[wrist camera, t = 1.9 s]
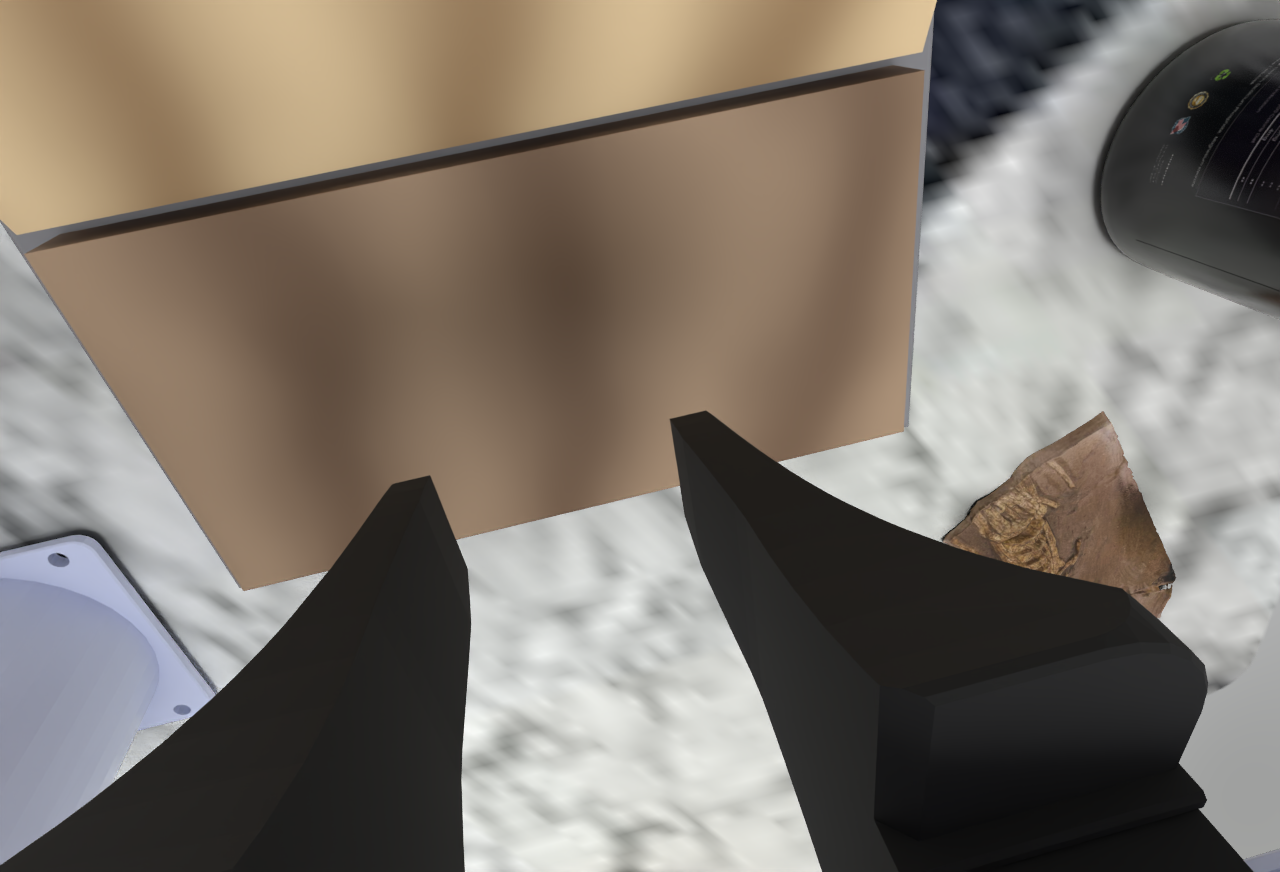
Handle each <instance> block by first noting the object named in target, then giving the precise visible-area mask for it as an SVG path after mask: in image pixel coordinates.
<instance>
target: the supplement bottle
mask: <svg viewBox="0 0 1280 872" xmlns="http://www.w3.org/2000/svg"><path fill="white" fill-rule="evenodd" d="M1100 198H1101V210H1102V216H1103V220H1104V224H1105V226H1106V229H1107V231H1108V234H1109V236H1110V237H1111V239H1112V241H1113V242H1114V244H1115V245H1116V246H1117V247H1118V249H1119V250H1120V251H1121V252H1123V253H1124V254H1125V255H1126V256H1127V257H1129V258H1130V259H1131V260H1133V261H1135V262H1137V263H1139V264H1141V265H1143V266H1145V267H1147V268H1150V269H1152V270H1154V271H1157V272H1159V273H1162V274H1164V275H1166V276H1169V277H1171V278H1174V279H1176V280H1179V281H1181V282H1184V283H1187V284H1189V285H1192V286H1194V287H1197V288H1199V289H1202V290H1204V291H1207V292H1210V293H1212V294H1215V295H1217V296H1220V297H1222V298H1225V299H1227V300H1230V301H1233V302H1235V303H1238V304H1240V305H1243V306H1245V307H1248V308H1250V309H1253V310H1256V311H1258V312H1261V313H1263V314H1266V315H1268V316H1271V317H1273V318H1276V319H1279V320H1280V19H1266V20H1257V21H1249V22H1245V23H1241V24H1237V25H1234V26H1231V27H1229V28H1226V29H1223V30H1221V31H1218V32H1216V33H1214V34H1212V35H1210V36H1208V37H1206V38H1205V39H1203V40H1201V41H1199V42H1198V43H1196V44H1194V45H1193V46H1191V47H1190V48H1188V49H1187V50H1185V51H1184V52H1183V53H1181V54H1180V55H1179V56H1178V57H1176V58H1175V59H1174V60H1173V61H1171V62H1170V63H1169V64H1168V65H1167V66H1166V67H1165V68H1164V69H1163V70H1161V71H1160V72H1159V73H1158V74H1157V75H1156V77H1155V78H1154V79H1153V80H1152V81H1151V82H1150V83H1149V84H1148V85H1147V86H1146V88H1145V89H1144V90H1143V91H1142V92H1141V94H1140V95H1139V96H1138V98H1137V99H1136V100H1135V102H1134V103H1133V105H1132V106H1131V108H1130V109H1129V111H1128V112H1127V114H1126V115H1125V117H1124V119H1123V121H1122V122H1121V124H1120V126H1119V128H1118V130H1117V132H1116V134H1115V136H1114V138H1113V141H1112V143H1111V146H1110V148H1109V151H1108V154H1107V158H1106V161H1105V165H1104V169H1103V174H1102V180H1101V192H1100Z"/></svg>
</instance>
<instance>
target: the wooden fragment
mask: <svg viewBox="0 0 1280 872" xmlns="http://www.w3.org/2000/svg"><path fill="white" fill-rule="evenodd" d="M1117 438H1118V436H1117V434H1116V433H1115V431H1114V427H1113V425H1112V423H1111V422H1110V421H1109V419H1108V418H1107V416H1106V415H1105V413H1104V411H1103V412H1101V413H1100V414H1098V415H1097V416H1096V417H1094V418H1093V419H1092V420H1090V421H1089V422H1087V423H1085V424H1084V425H1082V426H1080V427H1079V428H1077V429H1076V430H1074V431H1072V432H1071V433H1069V434H1067V435H1066V436H1064V437H1063V438H1061V439H1060V440H1058V441H1056V442H1054V443H1053V444H1051V445H1049V446H1047V447H1045V448H1043V449H1041V450H1039V451H1037V452H1035V453H1034V454H1032V455H1030V456H1029V457H1027V458H1026V459H1025V460H1024V461H1023V462H1022V463H1021V464H1020V465H1019V467H1018V468H1017V469H1016V470H1015V471H1014V472H1013V474H1012V477H1011V478H1010V479H1008V480H1007V481H1006V482H1005V483H1003V484H1002V485H1001V486H1000V487H998V488H997V489H996V490H995V491H994V492H992V493H991V494H989V495H988V496H986V497H985V498H983V499H981V500H979V501H977V503H976V505H975V506H974V507H973V508H972V509H971V511H970V516H969V515H967V517H966V519H965V520H964V521H962V522H961V523H960V524H959V525H958V526H957V527H956V528H955V529H953V530H951V531H950V533H949V534H947V535H945V538H944V540H943V543H946V544H948V545H950V546H953V547H956V548H960V549H963V550H966V551H969V552H972V553H975V554H979V555H982V556H986V557H989V558H993V559H996V560H1000V561H1004V562H1007V563H1011V564H1014V565H1018V566H1022V567H1025V568H1029V569H1033V570H1038V571H1042V572H1047V573H1052V574H1056V575H1061V576H1066V577H1071V578H1075V579H1080V580H1085V581H1089V582H1094V583H1099V584H1104V585H1108V586H1113V587H1118V588H1122V589H1123V590H1124V591H1126V592H1127V593H1128V594H1129V595H1131V596H1132V597H1133V598H1134V599H1136V600H1137V601H1138V602H1139V603H1140V604H1141V605H1143V606H1144V607H1145V608H1146V609H1147V610H1148V611H1150V612H1151V613H1152V614H1153V615H1154V616H1155V617H1156V618H1160V617H1161V613H1162V611H1163V609H1164V607H1165V605H1166V603H1167V601H1168V600H1169V599H1170V597H1171V593H1172V585H1171V588H1170V589H1168V588H1167V589H1163V590H1161V591H1160V589H1159V588H1158V587H1159V586H1160V585H1165V584H1166V586H1167V587H1168V583H1169V584H1171V583H1173V582H1174V581H1175V579H1176V577H1175V573H1174V570H1173V569H1172V564H1171V562H1170V559H1169V557H1168V556H1167V554H1166V551H1165V549H1164V546H1163V543H1162V541H1161V539H1160V537H1159V535H1158V533H1157V532H1156V528H1155V526H1154V524H1153V521H1152V519H1151V517H1150V514H1149V512H1148V510H1147V507H1146V505H1145V503H1144V500H1143V497H1142V493H1141V492H1139V489H1138V486H1137V483H1136V482H1135V480H1134V479H1133V477H1134V476H1132V475H1131V474H1132V473H1133V472H1132V471H1131V470H1130V468H1127V466H1128V461H1127V460H1126V459H1125V457H1124V456H1123V454H1124V452H1123V450H1122V447H1121V445H1120V443H1119V441H1118V439H1117Z"/></svg>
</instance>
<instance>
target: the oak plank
mask: <svg viewBox="0 0 1280 872" xmlns="http://www.w3.org/2000/svg"><path fill="white" fill-rule="evenodd" d="M936 2H937V0H0V220H1V221H2V222H3V223H4V224H5V225H6V226H7V227H9V228H10V229H11V230H12V231H13V232H14V233H15V234H16V235H20V234H25V233H30V232H35V231H40V230H44V229H49V228H54V227H59V226H64V225H69V224H74V223H79V222H84V221H89V220H94V219H99V218H104V217H109V216H114V215H119V214H124V213H129V212H134V211H138V210H143V209H148V208H153V207H158V206H163V205H168V204H173V203H178V202H183V201H188V200H193V199H198V198H203V197H208V196H213V195H218V194H223V193H228V192H232V191H237V190H242V189H247V188H252V187H257V186H262V185H267V184H272V183H277V182H282V181H287V180H292V179H297V178H302V177H307V176H312V175H317V174H322V173H326V172H331V171H336V170H341V169H346V168H351V167H356V166H361V165H366V164H371V163H376V162H381V161H386V160H391V159H396V158H401V157H406V156H411V155H415V154H420V153H425V152H430V151H435V150H440V149H445V148H450V147H455V146H460V145H465V144H470V143H475V142H480V141H485V140H490V139H495V138H500V137H505V136H509V135H514V134H519V133H524V132H529V131H534V130H539V129H544V128H549V127H554V126H559V125H564V124H569V123H574V122H579V121H584V120H589V119H594V118H599V117H603V116H608V115H613V114H618V113H623V112H628V111H633V110H638V109H643V108H648V107H653V106H658V105H663V104H668V103H673V102H678V101H683V100H688V99H693V98H697V97H702V96H707V95H712V94H717V93H722V92H727V91H732V90H737V89H742V88H747V87H752V86H757V85H762V84H767V83H772V82H777V81H782V80H786V79H791V78H796V77H801V76H806V75H811V74H816V73H821V72H826V71H831V70H836V69H841V68H846V67H851V66H856V65H861V64H866V63H871V62H876V61H880V60H885V59H890V58H895V57H900V56H905V55H910V54H915V53H920V52H923V48H924V45H925V41H926V37H927V34H928V30H929V27H930V23H931V20H932V16H933V12H934V9H935V5H936Z"/></svg>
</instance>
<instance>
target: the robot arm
mask: <svg viewBox="0 0 1280 872" xmlns="http://www.w3.org/2000/svg"><path fill="white" fill-rule="evenodd" d="M670 425H671V431H672V437H673V444H674V450H675V456H676V463H677V469H678V475H679V482H680V488H681V494H682V501H683V507H684V513H685V518H686V521H687V524H688V527H689V530H690V533H691V536H692V539H693V542H694V545H695V548H696V551H697V554H698V557H699V560H700V563H701V566H702V568H703V571H704V573H705V575H706V577H707V579H708V581H709V584H710V586H711V588H712V590H713V592H714V594H715V596H716V599H717V601H718V603H719V605H720V607H721V609H722V611H723V613H724V615H725V618H726V620H727V622H728V624H729V626H730V628H731V630H732V632H733V634H734V637H735V639H736V641H737V643H738V645H739V647H740V649H741V651H742V654H743V656H744V658H745V660H746V662H747V664H748V666H749V668H750V670H751V673H752V675H753V677H754V679H755V682H756V684H757V687H758V689H759V691H760V694H761V696H762V699H763V701H764V704H765V707H766V709H767V712H768V715H769V718H770V721H771V724H772V726H773V729H774V732H775V735H776V738H777V740H778V743H779V746H780V749H781V752H782V755H783V757H784V760H785V763H786V766H787V769H788V772H789V775H790V778H791V781H792V784H793V786H794V789H795V792H796V795H797V798H798V801H799V804H800V807H801V810H802V813H803V816H804V818H805V821H806V824H807V827H808V830H809V833H810V836H811V839H812V842H813V845H814V848H815V851H816V854H817V857H818V860H819V863H820V866H821V869H822V872H1280V849H1277V850H1273V851H1270V852H1266V853H1263V854H1260V855H1256V856H1253V857H1250V858H1246V859H1242V858H1241V857H1240V856H1239V854H1238V853H1237V852H1236V851H1235V850H1234V849H1233V848H1232V847H1231V845H1230V844H1229V843H1228V842H1227V841H1226V840H1225V839H1224V837H1223V836H1222V835H1221V834H1220V833H1219V832H1218V831H1217V829H1216V828H1215V827H1214V826H1213V825H1212V824H1211V823H1210V821H1209V820H1208V819H1207V818H1206V817H1205V816H1204V815H1203V814H1202V813H1201V811H1200V810H1199V808H1202V807H1204V805H1205V803H1206V801H1207V799H1206V796H1205V794H1204V791H1203V790H1202V789H1201V788H1200V787H1199V785H1198V784H1197V783H1196V782H1195V781H1194V780H1193V779H1192V778H1191V777H1190V775H1189V774H1188V773H1187V772H1186V771H1185V770H1184V769H1183V768H1182V767H1181V766H1180V764H1179V761H1180V758H1181V756H1182V754H1183V752H1184V750H1185V747H1186V745H1187V743H1188V741H1189V739H1190V736H1191V734H1192V732H1193V730H1194V727H1195V725H1196V723H1197V721H1198V719H1199V716H1200V714H1201V712H1202V709H1203V705H1204V701H1205V698H1206V694H1207V687H1208V681H1207V676H1206V670H1205V665H1204V664H1203V663H1202V662H1201V660H1200V659H1199V658H1198V657H1197V656H1196V655H1195V654H1194V653H1193V652H1192V651H1191V650H1190V649H1189V648H1188V647H1187V646H1186V645H1185V644H1184V643H1183V642H1182V641H1181V640H1180V639H1179V638H1178V637H1176V636H1175V635H1174V634H1173V633H1172V632H1171V631H1170V630H1169V629H1168V628H1167V627H1166V626H1165V625H1164V624H1163V623H1162V622H1161V621H1160V620H1159V619H1157V618H1156V617H1155V616H1154V615H1153V614H1152V613H1151V612H1150V611H1148V610H1147V609H1146V608H1145V607H1144V606H1143V605H1141V604H1140V603H1139V602H1138V601H1137V600H1136V599H1134V598H1133V597H1132V596H1131V595H1129V594H1128V593H1127V592H1126V591H1124V590H1123V589H1122V588H1118V587H1113V586H1108V585H1104V584H1099V583H1094V582H1089V581H1085V580H1080V579H1075V578H1071V577H1066V576H1061V575H1056V574H1052V573H1047V572H1042V571H1038V570H1033V569H1029V568H1025V567H1022V566H1018V565H1014V564H1011V563H1007V562H1004V561H1000V560H996V559H993V558H989V557H986V556H982V555H979V554H975V553H972V552H969V551H966V550H963V549H960V548H956V547H953V546H950V545H947V544H944V543H942V542H939V541H936V540H933V539H931V538H928V537H925V536H922V535H920V534H917V533H914V532H912V531H909V530H906V529H904V528H901V527H899V526H896V525H894V524H891V523H889V522H887V521H884V520H882V519H880V518H878V517H875V516H873V515H871V514H869V513H867V512H865V511H862V510H860V509H858V508H856V507H854V506H852V505H850V504H847V503H845V502H843V501H842V500H840V499H838V498H836V497H834V496H832V495H830V494H828V493H826V492H825V491H823V490H821V489H819V488H818V487H816V486H814V485H812V484H811V483H809V482H807V481H805V480H804V479H802V478H801V477H799V476H797V475H796V474H794V473H793V472H791V471H789V470H788V469H786V468H785V467H783V466H782V465H780V464H779V463H778V462H776V461H775V460H773V459H772V458H770V457H769V456H767V455H766V454H764V453H763V452H761V451H760V450H759V449H757V448H756V447H754V446H753V445H752V444H750V443H749V442H748V441H746V440H745V439H744V438H742V437H741V436H739V435H738V434H737V433H736V432H734V431H733V430H732V429H730V428H729V427H728V426H726V425H725V424H724V423H723V422H721V421H720V420H719V419H717V418H716V417H715V416H714V415H712V414H711V413H709V412H708V411H706V410H705V411H701V412H697V413H693V414H688V415H684V416H680V417H675V418H671V419H670ZM56 553H60V554H63V555H65V556H66V557H68V558H64V557H60V556H59V555H58V554H56ZM470 634H471V612H470V595H469V582H468V569H467V566H466V564H465V561H464V559H463V556H462V554H461V551H460V549H459V546H458V544H457V541H456V539H455V536H454V534H453V531H452V529H451V526H450V524H449V521H448V519H447V516H446V514H445V511H444V509H443V506H442V504H441V501H440V498H439V496H438V493H437V491H436V488H435V486H434V483H433V481H432V478H431V476H430V475H428V476H424V477H420V478H416V479H411V480H407V481H403V482H399V483H394V484H392V485H391V486H390V487H389V489H388V490H387V491H386V493H385V494H384V495H383V497H382V498H381V499H380V501H379V502H378V504H377V505H376V506H375V508H374V509H373V511H372V512H371V514H370V515H369V516H368V518H367V519H366V521H365V522H364V523H363V525H362V526H361V528H360V529H359V531H358V532H357V533H356V535H355V536H354V537H353V539H352V540H351V541H350V543H349V544H348V546H347V547H346V548H345V550H344V551H343V552H342V554H341V555H340V556H339V558H338V559H337V561H336V562H335V563H334V565H333V566H332V567H331V569H330V570H329V571H328V573H327V574H326V575H325V576H324V577H323V579H322V580H321V581H320V582H319V584H318V585H317V586H316V587H315V588H314V590H313V591H312V592H311V593H310V595H309V596H308V597H307V598H306V599H305V601H304V602H303V603H302V604H301V606H300V607H299V608H298V609H297V610H296V612H295V613H294V614H293V615H292V617H291V618H290V619H289V620H288V621H287V622H286V624H285V625H284V626H283V627H282V628H281V629H280V630H279V632H278V633H277V634H276V635H275V636H274V637H273V638H272V639H271V640H270V641H269V642H268V644H267V645H266V646H265V647H264V648H263V649H262V650H261V651H260V652H259V653H258V654H257V655H256V656H255V657H254V658H253V659H252V660H251V661H250V662H249V663H248V664H247V665H246V666H245V667H244V668H243V669H242V670H241V671H240V672H239V673H238V674H237V675H236V676H235V677H234V678H233V679H232V680H231V681H230V682H229V683H228V684H227V685H226V686H225V687H224V688H223V689H222V690H221V691H220V692H219V693H217V694H216V695H215V693H214V692H213V690H212V689H211V688H210V687H209V685H208V684H207V683H206V681H205V680H204V679H203V677H202V676H201V675H200V674H199V672H198V671H197V670H196V668H195V667H194V666H193V664H192V663H191V662H190V661H189V659H188V658H187V657H186V655H185V654H184V653H183V651H182V650H181V649H180V648H179V646H178V645H177V644H176V642H175V641H174V640H173V638H172V637H171V636H170V635H169V633H168V632H167V631H166V629H165V628H164V627H163V625H162V624H161V623H160V622H159V620H158V619H157V618H156V616H155V615H154V614H153V612H152V611H151V610H150V609H149V607H148V606H147V605H146V603H145V602H144V601H143V599H142V598H141V597H140V596H139V594H138V593H137V592H136V590H135V589H134V588H133V586H132V585H131V584H130V583H129V581H128V580H127V579H126V577H125V576H124V575H123V573H122V572H121V571H120V570H119V568H118V567H117V566H116V564H115V563H114V562H113V560H112V559H111V558H110V557H109V555H108V554H107V553H106V551H105V550H104V549H103V547H102V546H101V545H100V544H99V543H98V542H97V541H96V540H95V539H93V538H91V537H88V536H84V535H71V536H67V537H63V538H59V539H54V540H50V541H46V542H41V543H37V544H33V545H28V546H24V547H20V548H16V549H11V550H7V551H3V552H0V872H465V867H464V847H463V818H462V787H461V774H462V746H463V733H464V719H465V705H466V692H467V678H468V665H469V650H470ZM190 717H191V718H190ZM186 718H190V719H189V720H188V721H186V722H185V723H184V724H183V725H182V726H181V727H180V728H179V729H178V730H176V731H175V732H174V733H173V734H172V735H171V736H170V737H169V738H168V739H166V740H165V741H164V742H163V743H162V744H161V745H159V746H158V747H157V748H156V749H155V750H153V751H152V752H151V753H150V754H148V755H147V756H146V757H145V758H144V759H142V760H141V761H140V762H139V763H137V764H136V765H135V766H134V767H132V768H131V769H130V770H129V771H128V772H126V773H125V774H124V775H123V776H121V777H120V778H119V779H117V780H116V781H115V782H114V783H113V781H114V779H115V776H116V774H117V772H118V770H119V768H120V766H121V764H122V762H123V760H124V757H125V755H126V753H127V751H128V749H129V747H130V745H131V743H132V741H133V739H134V736H135V734H136V732H137V731H139V730H142V729H146V728H150V727H154V726H158V725H162V724H166V723H170V722H174V721H178V720H182V719H186Z"/></svg>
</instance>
